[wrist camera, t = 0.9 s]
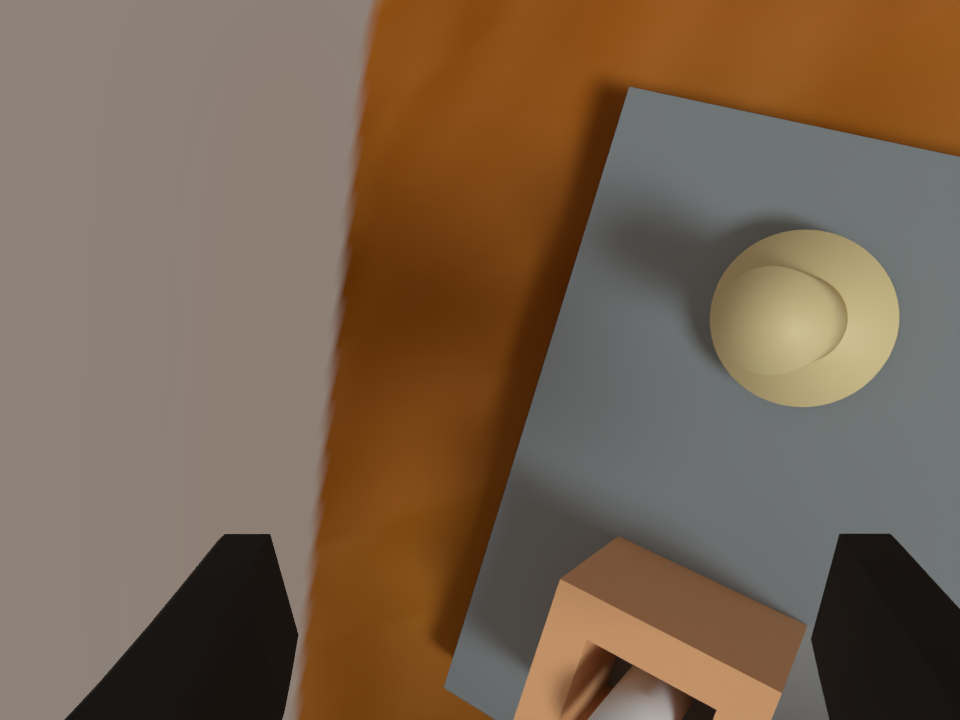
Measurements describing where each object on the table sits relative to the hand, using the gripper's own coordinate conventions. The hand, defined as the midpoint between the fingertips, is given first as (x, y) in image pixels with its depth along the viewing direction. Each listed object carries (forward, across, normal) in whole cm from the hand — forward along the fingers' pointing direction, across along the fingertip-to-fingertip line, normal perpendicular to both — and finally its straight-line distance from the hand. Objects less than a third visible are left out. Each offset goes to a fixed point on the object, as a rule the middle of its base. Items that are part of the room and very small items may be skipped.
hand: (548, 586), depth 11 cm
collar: (+6, -3, +10) cm, 12 cm away
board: (+9, -5, +7) cm, 13 cm away
